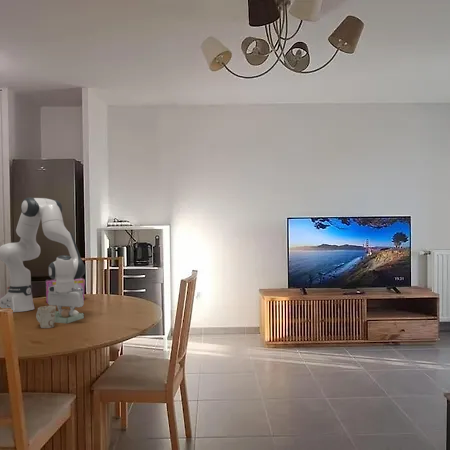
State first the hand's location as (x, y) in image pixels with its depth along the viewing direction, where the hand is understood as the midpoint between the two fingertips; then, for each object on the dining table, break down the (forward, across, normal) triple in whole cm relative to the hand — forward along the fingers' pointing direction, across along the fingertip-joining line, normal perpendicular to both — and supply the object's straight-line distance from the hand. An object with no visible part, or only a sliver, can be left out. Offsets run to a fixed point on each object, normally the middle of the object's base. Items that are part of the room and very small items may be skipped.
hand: (66, 314), depth 267 cm
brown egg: (+2, 0, 0) cm, 2 cm away
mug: (+4, +3, +12) cm, 13 cm away
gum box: (+4, +44, -52) cm, 68 cm away
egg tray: (+4, +6, -3) cm, 8 cm away
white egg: (+3, 0, -6) cm, 7 cm away
